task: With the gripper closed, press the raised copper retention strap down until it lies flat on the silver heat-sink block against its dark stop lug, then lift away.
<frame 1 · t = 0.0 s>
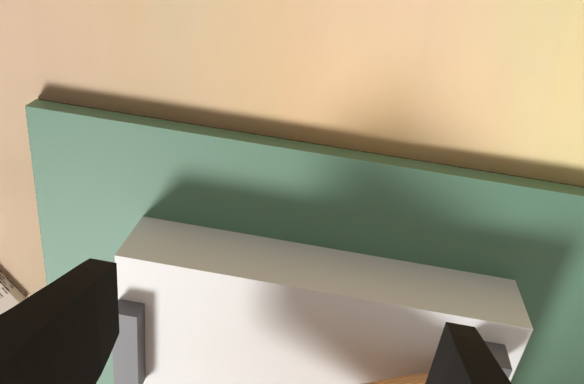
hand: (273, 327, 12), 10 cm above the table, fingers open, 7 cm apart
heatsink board: (335, 315, 25), on the table
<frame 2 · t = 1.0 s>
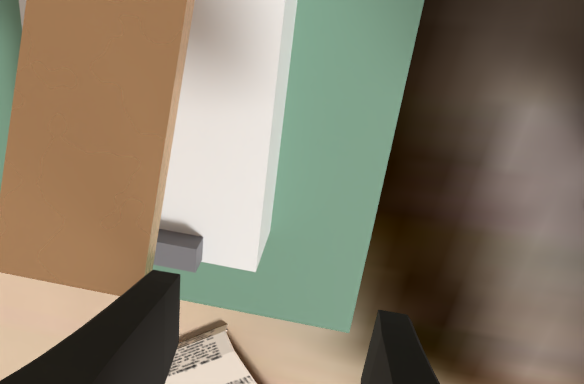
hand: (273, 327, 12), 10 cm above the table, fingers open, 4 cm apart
retention strap: (104, 49, 14), point 6 cm above the table, hinge at 25.0°
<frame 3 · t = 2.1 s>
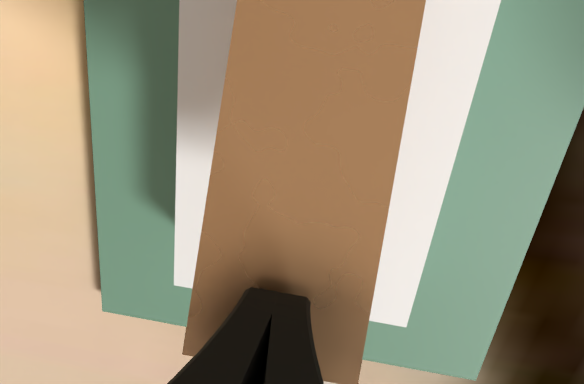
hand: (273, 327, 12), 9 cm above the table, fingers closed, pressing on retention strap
retention strap: (313, 106, 12), point 6 cm above the table, hinge at 24.9°, touching gripper
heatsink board: (334, 30, 18), on the table
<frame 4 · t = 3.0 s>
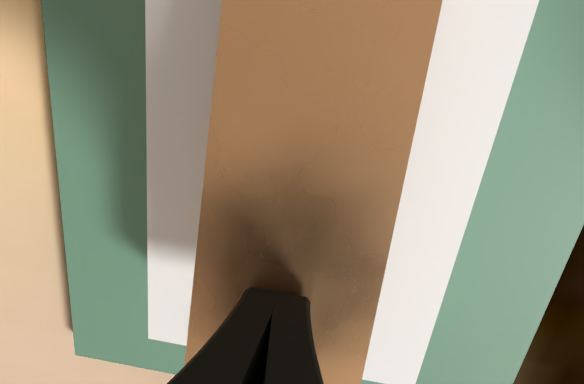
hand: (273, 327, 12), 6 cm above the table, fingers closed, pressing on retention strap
retention strap: (307, 150, 11), point 5 cm above the table, hinge at 12.1°, touching gripper
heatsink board: (331, 49, 15), on the table
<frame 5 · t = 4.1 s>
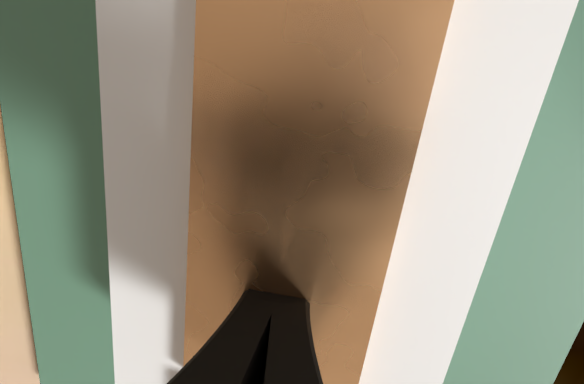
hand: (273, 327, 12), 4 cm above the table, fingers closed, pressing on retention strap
retention strap: (297, 182, 11), point 4 cm above the table, hinge at 0.2°, touching gripper
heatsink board: (322, 73, 14), on the table
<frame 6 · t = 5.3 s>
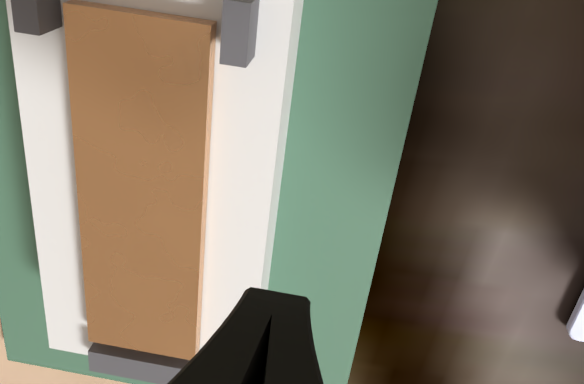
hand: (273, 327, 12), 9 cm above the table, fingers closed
retention strap: (142, 205, 18), point 4 cm above the table, hinge at 0.2°
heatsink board: (181, 130, 21), on the table
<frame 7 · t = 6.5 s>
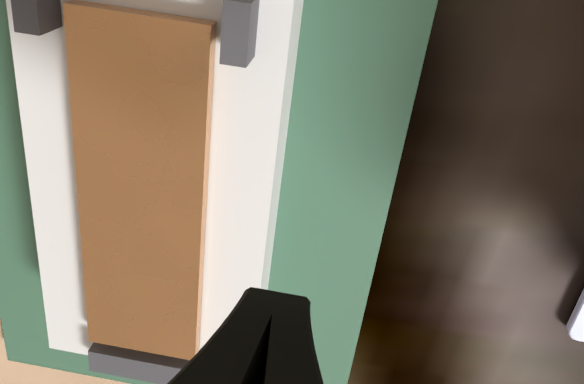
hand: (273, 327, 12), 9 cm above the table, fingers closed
retention strap: (142, 205, 18), point 4 cm above the table, hinge at 0.2°
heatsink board: (181, 130, 21), on the table
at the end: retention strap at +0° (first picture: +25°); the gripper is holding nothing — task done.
